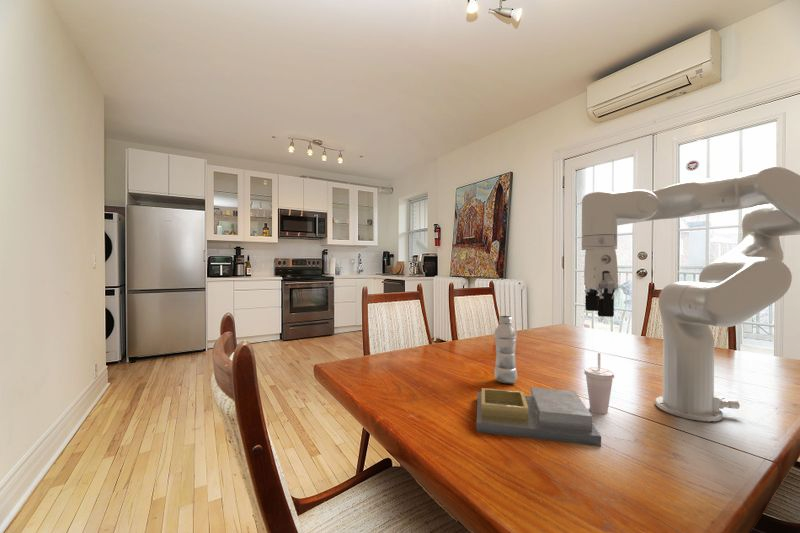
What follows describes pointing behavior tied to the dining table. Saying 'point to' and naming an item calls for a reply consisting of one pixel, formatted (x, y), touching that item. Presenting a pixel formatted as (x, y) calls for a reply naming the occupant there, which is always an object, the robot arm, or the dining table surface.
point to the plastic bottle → (505, 351)
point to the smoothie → (599, 387)
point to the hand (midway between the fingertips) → (598, 313)
